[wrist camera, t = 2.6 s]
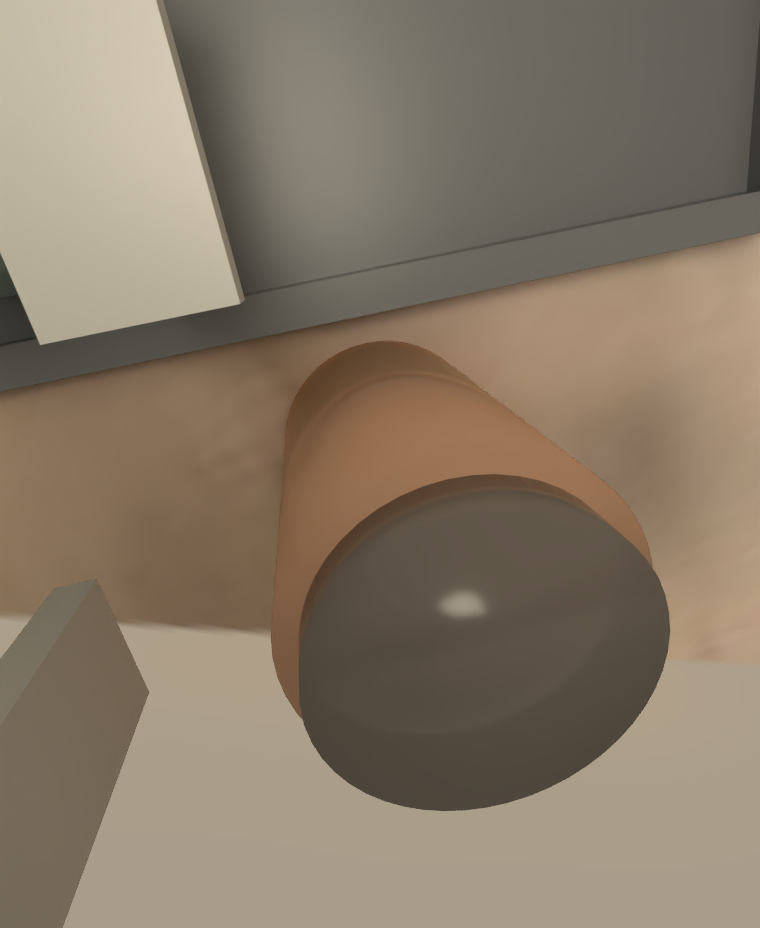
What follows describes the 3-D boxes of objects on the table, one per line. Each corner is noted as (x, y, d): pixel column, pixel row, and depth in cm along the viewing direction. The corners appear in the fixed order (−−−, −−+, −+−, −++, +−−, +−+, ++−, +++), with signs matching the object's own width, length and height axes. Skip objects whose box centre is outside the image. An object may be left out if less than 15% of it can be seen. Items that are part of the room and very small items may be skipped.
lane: (-82, 399, 14) (-366, 511, 8) (-350, -93, 10) (-1269, -577, 4) (760, 224, 16) (1051, 208, 10) (802, -267, 12) (1341, -818, 6)
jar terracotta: (311, 544, 18) (324, 869, 8) (262, 365, 15) (206, 542, 6) (487, 502, 18) (687, 771, 9) (466, 321, 16) (709, 426, 6)
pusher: (176, 295, 13) (39, 344, 6) (51, -94, 10) (-449, -786, 3) (271, 276, 13) (239, 304, 6) (173, -113, 11) (-68, -812, 4)
